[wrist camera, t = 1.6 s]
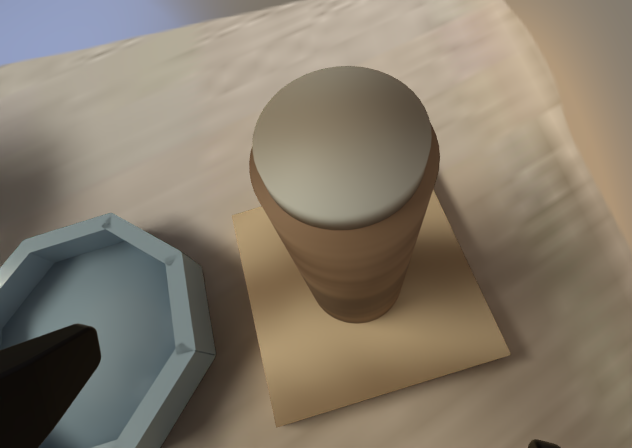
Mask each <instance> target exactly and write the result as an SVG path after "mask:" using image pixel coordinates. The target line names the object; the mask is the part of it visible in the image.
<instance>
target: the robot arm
mask: <svg viewBox="0 0 632 448" xmlns="http://www.w3.org/2000/svg"><path fill="white" fill-rule="evenodd" d="M100 361H101V350H100V345H99V339H98V334H97V331H96V329H95V328H94V327H92V326H88V325H84V324H78V323H77V324H73V325H70V326H67V327H64V328H61V329H58V330H56V331H53V332H50V333H47V334H44V335H42V336H39V337H36V338H33V339H30V340H27V341H25V342H22V343H19V344H16V345H13V346H11V347H8V348H5V349H2V350H0V448H38V447H39V446H40V445H41V444H42V443H43V442H44V440H45V439H46V438H47V437H48V435H49V434H50V433H51V432H52V430H53V429H54V428H55V426H56V425H57V424H58V422H59V421H60V420H61V418H62V417H63V415H64V414H65V413H66V411H67V410H68V408H69V407H70V406H71V404H72V403H73V401H74V400H75V399H76V397H77V396H78V394H79V393H80V391H81V390H82V389H83V387H84V386H85V384H86V383H87V382H88V380H89V379H90V377H91V376H92V375H93V373H94V372H95V370H96V369H97V367H98V366H99V364H100ZM528 448H561V447H559V446H558V445H556V444H553V443H549V442H545V441H541V440H537V439H535V440H532V441H531V442H530V444H529V446H528Z"/></svg>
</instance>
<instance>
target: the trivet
mask: <svg viewBox="0 0 632 448" xmlns="http://www.w3.org/2000/svg"><path fill="white" fill-rule="evenodd" d="M232 219H233V224H234V229H235V233H236V238H237V243H238V248H239V252H240V257H241V262H242V267H243V271H244V276H245V281H246V286H247V290H248V295H249V300H250V305H251V309H252V314H253V319H254V324H255V328H256V333H257V338H258V343H259V347H260V352H261V357H262V362H263V366H264V371H265V376H266V381H267V385H268V390H269V395H270V400H271V404H272V409H273V414H274V419H275V423H276V428H277V427H280V426H283V425H286V424H290V423H293V422H296V421H299V420H303V419H306V418H309V417H312V416H315V415H319V414H322V413H325V412H328V411H332V410H335V409H338V408H341V407H344V406H348V405H351V404H354V403H357V402H361V401H364V400H367V399H370V398H373V397H377V396H380V395H383V394H386V393H390V392H393V391H396V390H399V389H402V388H406V387H409V386H412V385H415V384H419V383H422V382H425V381H428V380H431V379H435V378H438V377H441V376H444V375H448V374H451V373H454V372H457V371H461V370H464V369H467V368H470V367H473V366H477V365H480V364H483V363H486V362H490V361H493V360H496V359H499V358H502V357H506V356H509V355H511V353H510V351H509V349H508V347H507V345H506V343H505V340H504V338H503V336H502V334H501V332H500V330H499V328H498V326H497V323H496V321H495V319H494V317H493V315H492V313H491V311H490V309H489V306H488V304H487V302H486V300H485V298H484V296H483V294H482V292H481V290H480V287H479V285H478V283H477V281H476V279H475V277H474V275H473V273H472V270H471V268H470V266H469V264H468V262H467V260H466V258H465V256H464V253H463V251H462V249H461V247H460V245H459V243H458V241H457V239H456V237H455V234H454V232H453V230H452V228H451V226H450V224H449V222H448V220H447V217H446V215H445V213H444V211H443V209H442V207H441V205H440V203H439V200H438V198H437V196H436V194H435V192H434V190H433V192H432V195H431V198H430V201H429V204H428V207H427V210H426V213H425V216H424V219H423V223H422V226H421V229H420V232H419V235H418V238H417V241H416V244H415V247H414V250H413V254H412V257H411V260H410V263H409V266H408V269H407V272H406V275H405V278H404V281H403V285H402V288H401V291H400V294H399V296H398V299H397V300H396V302H395V304H394V305H393V306H392V308H391V309H390V310H389V311H388V312H387V313H385V314H384V315H383V316H381V317H379V318H378V319H376V320H373V321H370V322H366V323H359V324H355V323H346V322H343V321H340V320H337V319H335V318H333V317H332V316H330V315H329V314H327V313H326V312H325V311H324V310H323V309H322V308H321V307H320V306H319V304H318V303H317V301H316V299H315V298H314V296H313V294H312V292H311V291H310V289H309V287H308V286H307V284H306V282H305V280H304V279H303V277H302V275H301V273H300V272H299V270H298V268H297V266H296V265H295V263H294V261H293V259H292V258H291V256H290V254H289V253H288V251H287V249H286V247H285V246H284V244H283V242H282V240H281V239H280V237H279V235H278V233H277V232H276V230H275V228H274V226H273V225H272V223H271V221H270V219H269V218H268V216H267V214H266V213H265V211H264V209H263V207H262V206H261V207H258V208H255V209H251V210H248V211H245V212H242V213H239V214H235V215H232Z"/></svg>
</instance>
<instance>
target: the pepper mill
mask: <svg viewBox="0 0 632 448" xmlns="http://www.w3.org/2000/svg"><path fill="white" fill-rule="evenodd" d="M439 162H440V153H439V145H438V141H437V137H436V134H435V132H434V129H433V127H432V125H431V123H430V121H429V117H428V114H427V112H426V110H425V107H424V106H423V104H422V103H421V101H420V99H419V98H418V97H417V96H416V95H415V93H414V92H413V91H412V90H411V89H409V88H408V87H407V86H406V85H405V84H403V83H402V82H401V81H399V80H398V79H396V78H394V77H392V76H390V75H388V74H385V73H383V72H380V71H377V70H373V69H369V68H364V67H355V66H341V67H331V68H325V69H321V70H318V71H314V72H311V73H309V74H306V75H304V76H302V77H300V78H298V79H296V80H294V81H292V82H291V83H289V84H288V85H286V86H285V87H284V88H282V89H281V90H280V91H279V92H278V93H277V94H276V95H275V96H274V97H273V98H272V99H271V100H270V101H269V102H268V104H267V105H266V106H265V108H264V109H263V111H262V113H261V114H260V116H259V119H258V121H257V123H256V126H255V130H254V134H253V146H252V149H251V154H250V161H249V165H250V178H251V183H252V186H253V189H254V192H255V194H256V196H257V198H258V200H259V202H260V204H261V206H262V207H263V209H264V211H265V213H266V214H267V216H268V218H269V219H270V221H271V223H272V225H273V226H274V228H275V230H276V232H277V233H278V235H279V237H280V239H281V240H282V242H283V244H284V246H285V247H286V249H287V251H288V253H289V254H290V256H291V258H292V259H293V261H294V263H295V265H296V266H297V268H298V270H299V272H300V273H301V275H302V277H303V279H304V280H305V282H306V284H307V286H308V287H309V289H310V291H311V292H312V294H313V296H314V298H315V299H316V301H317V303H318V304H319V306H320V307H321V308H322V309H323V310H324V311H325V312H326V313H327V314H329V315H330V316H332V317H333V318H335V319H337V320H340V321H343V322H346V323H355V324H359V323H366V322H370V321H373V320H376V319H378V318H379V317H381V316H383V315H384V314H385V313H387V312H388V311H389V310H390V309H391V308H392V306H393V305H394V304H395V302H396V300H397V299H398V296H399V294H400V291H401V288H402V285H403V281H404V278H405V275H406V272H407V269H408V266H409V263H410V260H411V257H412V254H413V250H414V247H415V244H416V241H417V238H418V235H419V232H420V229H421V226H422V223H423V219H424V216H425V213H426V210H427V207H428V204H429V201H430V198H431V195H432V192H433V188H434V185H435V182H436V179H437V175H438V171H439Z"/></svg>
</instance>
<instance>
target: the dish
mask: <svg viewBox="0 0 632 448" xmlns="http://www.w3.org/2000/svg"><path fill="white" fill-rule="evenodd" d="M77 323H78V324H84V325H88V326H92V327H94V328H95V329H96V331H97V334H98V339H99V345H100V350H101V361H100V364H99V366H98V367H97V369H96V370H95V372H94V373H93V375H92V376H91V377H90V379H89V380H88V382H87V383H86V384H85V386H84V387H83V389H82V390H81V391H80V393H79V394H78V396H77V397H76V399H75V400H74V401H73V403H72V404H71V406H70V407H69V408H68V410H67V411H66V413H65V414H64V415H63V417H62V418H61V420H60V421H59V422H58V424H57V425H56V426H55V428H54V429H53V430H52V432H51V433H50V434H49V435H48V437H47V438H46V439H45V440H44V442H43V443H42V444H41V445H40V446H39V447H38V448H161V446H162V444H163V443H164V441H165V439H166V438H167V436H168V434H169V433H170V431H171V429H172V428H173V426H174V424H175V423H176V421H177V419H178V418H179V416H180V414H181V413H182V411H183V409H184V408H185V406H186V405H187V403H188V401H189V400H190V398H191V396H192V395H193V393H194V391H195V390H196V388H197V386H198V385H199V383H200V381H201V380H202V378H203V376H204V375H205V373H206V371H207V370H208V368H209V366H210V365H211V363H212V362H213V360H214V358H215V357H216V356H215V355H216V351H215V345H214V339H213V333H212V327H211V321H210V315H209V308H208V302H207V296H206V290H205V284H204V278H203V272H202V267H201V266H200V265H199V264H197V263H196V262H195V261H193V260H192V259H191V258H189V257H188V256H186V255H185V254H184V253H182V252H181V251H179V250H178V249H176V248H174V247H172V246H170V245H169V244H167V243H165V242H163V241H161V240H160V239H158V238H156V237H154V236H152V235H151V234H149V233H147V232H145V231H143V230H142V229H140V228H138V227H136V226H135V225H133V224H131V223H129V222H127V221H126V220H124V219H122V218H120V217H118V216H117V215H115V214H113V213H108V214H105V215H102V216H98V217H95V218H92V219H89V220H86V221H82V222H79V223H76V224H73V225H70V226H66V227H63V228H60V229H57V230H53V231H50V232H47V233H44V234H41V235H37V236H34V237H31V238H28V239H24V240H23V241H22V242H21V244H20V245H19V246H18V247H17V248H16V250H15V251H14V252H13V253H12V254H11V255H10V257H9V258H8V259H7V260H6V261H5V263H4V264H3V265H2V266H1V267H0V350H2V349H5V348H8V347H11V346H13V345H16V344H19V343H22V342H25V341H27V340H30V339H33V338H36V337H39V336H42V335H44V334H47V333H50V332H53V331H56V330H58V329H61V328H64V327H67V326H70V325H73V324H77Z"/></svg>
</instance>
